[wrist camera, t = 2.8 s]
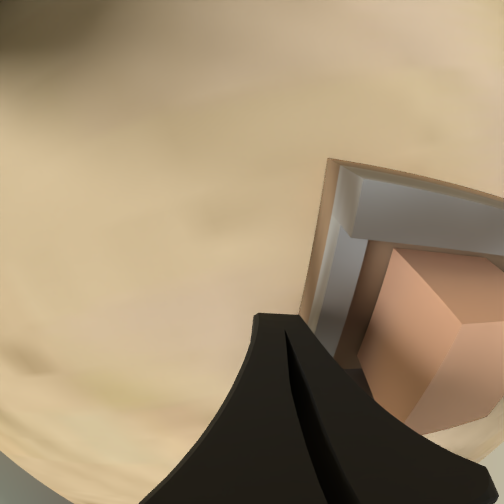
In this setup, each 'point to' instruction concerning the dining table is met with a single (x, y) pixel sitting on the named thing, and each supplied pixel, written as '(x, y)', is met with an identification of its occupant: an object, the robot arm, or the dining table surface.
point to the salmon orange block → (436, 340)
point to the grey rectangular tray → (384, 244)
